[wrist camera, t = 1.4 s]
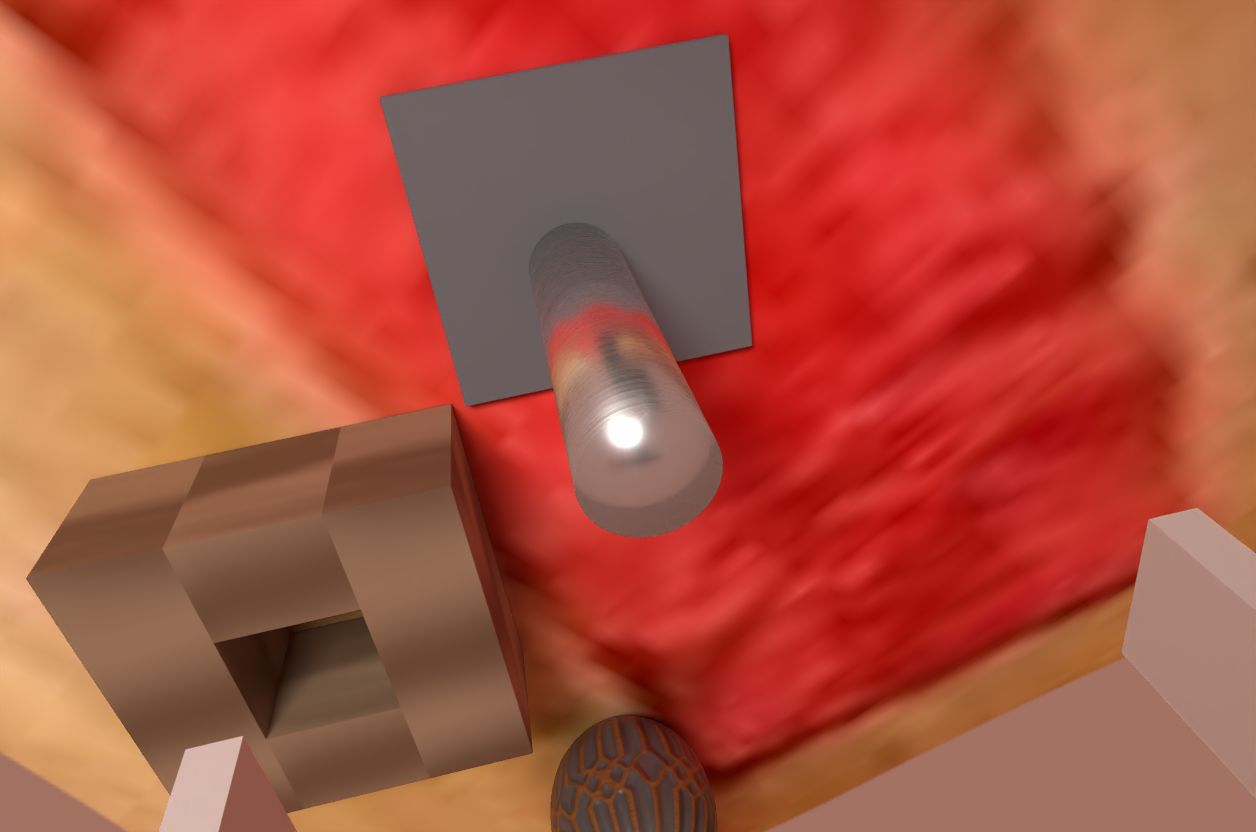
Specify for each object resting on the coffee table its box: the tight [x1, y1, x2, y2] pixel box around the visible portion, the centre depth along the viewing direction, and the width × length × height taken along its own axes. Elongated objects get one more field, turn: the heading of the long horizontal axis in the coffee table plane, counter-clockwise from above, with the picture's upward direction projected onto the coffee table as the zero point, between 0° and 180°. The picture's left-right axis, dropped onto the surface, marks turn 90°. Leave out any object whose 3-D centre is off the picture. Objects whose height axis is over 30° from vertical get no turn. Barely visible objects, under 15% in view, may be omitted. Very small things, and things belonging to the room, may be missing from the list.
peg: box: [529, 223, 723, 538], centre depth 22 cm, size 3×3×12 cm
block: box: [26, 404, 533, 813], centre depth 30 cm, size 12×12×5 cm
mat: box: [380, 34, 752, 406], centre depth 27 cm, size 10×10×1 cm
